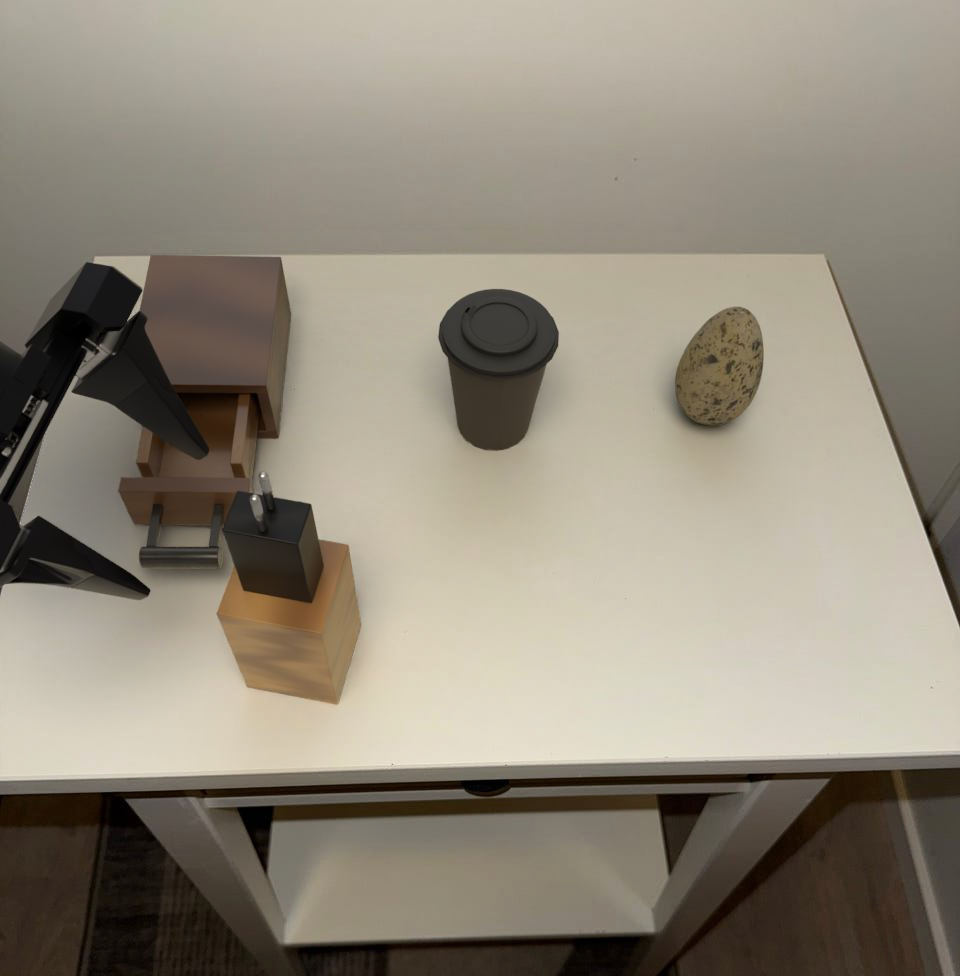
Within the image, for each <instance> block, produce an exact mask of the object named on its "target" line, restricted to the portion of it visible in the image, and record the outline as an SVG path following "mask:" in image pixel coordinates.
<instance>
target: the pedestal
mask: <svg viewBox="0 0 960 976" xmlns="http://www.w3.org/2000/svg"><path fill="white" fill-rule="evenodd" d="M318 539H319V538H318ZM319 544H320V549H321V554H322V559H323V564H324V567H323V570H322V573H321V577H320V580H319V583H318V586H317V589H316V592H315V595H314V598H313V601H312V603H307V602H301V601H296V600H291V599H285V598H280V597H275V596H269V595H264V594H259V593H253V592H248V591H244V590H243V588H242V586H241V583H240V580H239V577H238V574H237V571H236V569H235V566H234V565H233V568H232V571H231V573H230V576H229V579H228V582H227V585H226V587H225V590H224V592H223V595H222V598H221V600H220V603H219V606H218V608H217V611H216V616H217V619H218V621H219V624H220V626H221V628H222V630H223V633H224V636H225V637H226V641H227V643H228V645H229V648H230V650H231V652H232V655H233V657H234V659H235V661H236V664H237V667H238V669H239V671H240V674H241V676H242V679H243V681H244V683H245V686H246V688H250V689H255V690H261V691H266V692H270V693H277V694H281V695H282V694H283V695H285V696H292V697H297V698H303V699H308V700H312V701H318V702H323V703H328V704H333V705H338V704H339V702H340V699H341V696H342V692H343V688H344V686H345V682H346V678H347V675H348V671H349V668H350V665H351V661H352V657H353V654H354V651H355V648H356V645H357V640H358V637H359V634H360V631H361V626H362V621H361V613H360V609H359V601H358V595H357V590H356V584H355V583H356V582H355V576H354V570H353V564H352V557H351V550H350V545H349V544H346V543H341V542H335V541H331V540H326V539H319Z"/></svg>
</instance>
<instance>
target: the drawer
mask: <svg viewBox="0 0 960 976" xmlns="http://www.w3.org/2000/svg"><path fill="white" fill-rule="evenodd" d="M176 393H177V395H178V396H179V398H180V400H181V401H182V403H183V405H184V406H185V408H186V410H187V412H188V413H189V415H190V417H191V418H192V420H193V422H194V423H195V425H196V427H197V428H198V430H199V432H200V433H201V435H202V437H203V438H204V440H205V442H206V444H207V445H208V447H209V449H210V451H209V453H208V456H206V457H205V458H203V459H201V460H197V459H194V458H193V457H191V456H189V455H187V454H185V453H183V452H181V451H180V450H178V449H176V448H174V447H173V446H171V445H170V444H168V443H167V442H165V441H164V440H162V439H161V438H160V437H158V436H157V435H155V434H154V433H152V432H151V431H149V430H148V429H146V428H145V427H144V426H143V427H142V426H141V427H142V428H141V432H140V437H139V444H138V450H137V455H136V460H135V464H136V467H137V469H138V472H139V473H140V476H121V477H120V481H119V486H118V491H117V492H118V494H119V496H120V498H121V500H122V503H123V505H124V507H125V509H126V510H127V513H128V514H129V517H130V519H131V522H132V523H133V525H135V526H148V531H147V537H146V543H145V545H143V546H141V547H140V548H139V553H138V560H139V565H140V567H141V568H142V569H221V568H222V566H223V559H224V558H223V550H222V547H221V540H222V534H223V532H222V529H223V526H224V524H225V521H226V519H227V516H228V513H229V511H230V508H231V506H232V503H233V501H234V498H235V495H236V493H237V491H243V492H249V493H254V494H255V490H254V487H253V474H254V465H255V458H256V457H255V456H256V449H257V439H258V438H257V432H258V423H259V414H260V404H259V400H258V396H257V393H188V392H176ZM162 526H210V532H209V539H208V546H159V543H160V536H161V530H162Z"/></svg>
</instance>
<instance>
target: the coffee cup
mask: <svg viewBox="0 0 960 976" xmlns="http://www.w3.org/2000/svg"><path fill="white" fill-rule="evenodd" d="M437 335H438V336H437V338H438V341H439V342H438V343H439V345H440V348H441V351H442V353H443V354H444V355H445V357H446V358H447V363H448V369H449V370H448V371H449V375H450V383H451V390H452V396H453V403H454V409H455V416H456V417H455V418H456V423H457V426H458V430H459V433H460V435H461V436H462V437H463V439H464V440H465V441H466V442H467V443H468V444H471V445H472V446H474V447H476V448H478V449H483V450H484V451H502V450H507V449H510V448H512V447H514V446H516V445H518V444H519V443H520V442H521V441H522V440H523V439H524V438H525V436H526V434H527V432H528V430H529V427H530V424H531V420H532V417H533V413H534V410H535V406H536V403H537V400H538V396H539V393H540V389H541V386H542V382H543V379H544V375H545V371H546V369H547V366H548V365H547V364H549V363H550V362H551V361H552V360H553V357H554V356H555V354H556V352H557V350H558V348H559V338H560V331H559V329H558V326H557V324H556V321H555V319H554V317H553V316H552V315H551V313H550V312H549V310H548V308H546V307H545V306H544V305H543V304H542V303H541V302H539V301H538V300H536V299H535V298H533V297H531V296H530V295H528V294H525V293H522V292H520V291H517V290H512V289H505V288H489V289H488V288H487V289H482V290H477V291H474V292H472V293H469V294H467V295H465V296H463V297H461V298H459V300H457V301H455V302H454V304H452V305H451V306H450V307H449V308H448V309H447V310H446V312H445V314H444V316H443V317H442V319H441V321H440V322H439V327H438V334H437Z"/></svg>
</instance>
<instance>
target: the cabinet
mask: <svg viewBox="0 0 960 976" xmlns="http://www.w3.org/2000/svg"><path fill="white" fill-rule="evenodd" d="M286 282H287V281H286V278H285V272H284V267H283V260H282V256H256V255H255V256H252V255H251V256H249V255H191V254H190V255H188V254H187V255H186V254H185V255H184V254H183V255H179V254H178V255H177V254H168V255H167V254H150V256H149V262H148V265H147V271H146V277H145V281H144V287H143V291H142V297H141V301H140V306H139V311H141V312H143V313H144V314H145V315H146V316H147V317H148V320H147V322H146V324H145V331H146V333H147V335H148V337H149V339H150V342H151V344H152V346H153V348H154V350H155V352H156V354H157V356H158V358H159V360H160V362H161V364H162V366H163V368H164V370H165V372H166V375H167V376H168V378H169V380H170V382H171V384H172V386H173V388H174V389H175V391H176V392H188V393H257V396H258V400H259V404H260V414H259V423H258V432H257V439H279V438H280V429H281V428H280V427H281V426H280V425H281V418H282V408H283V397H284V389H285V379H286V378H285V377H286V368H287V359H288V351H289V349H288V348H289V341H290V329H291V319H292V311H291V305H290V299H289V293H288V288H287V283H286ZM141 427H143V426H142V425H141Z"/></svg>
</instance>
